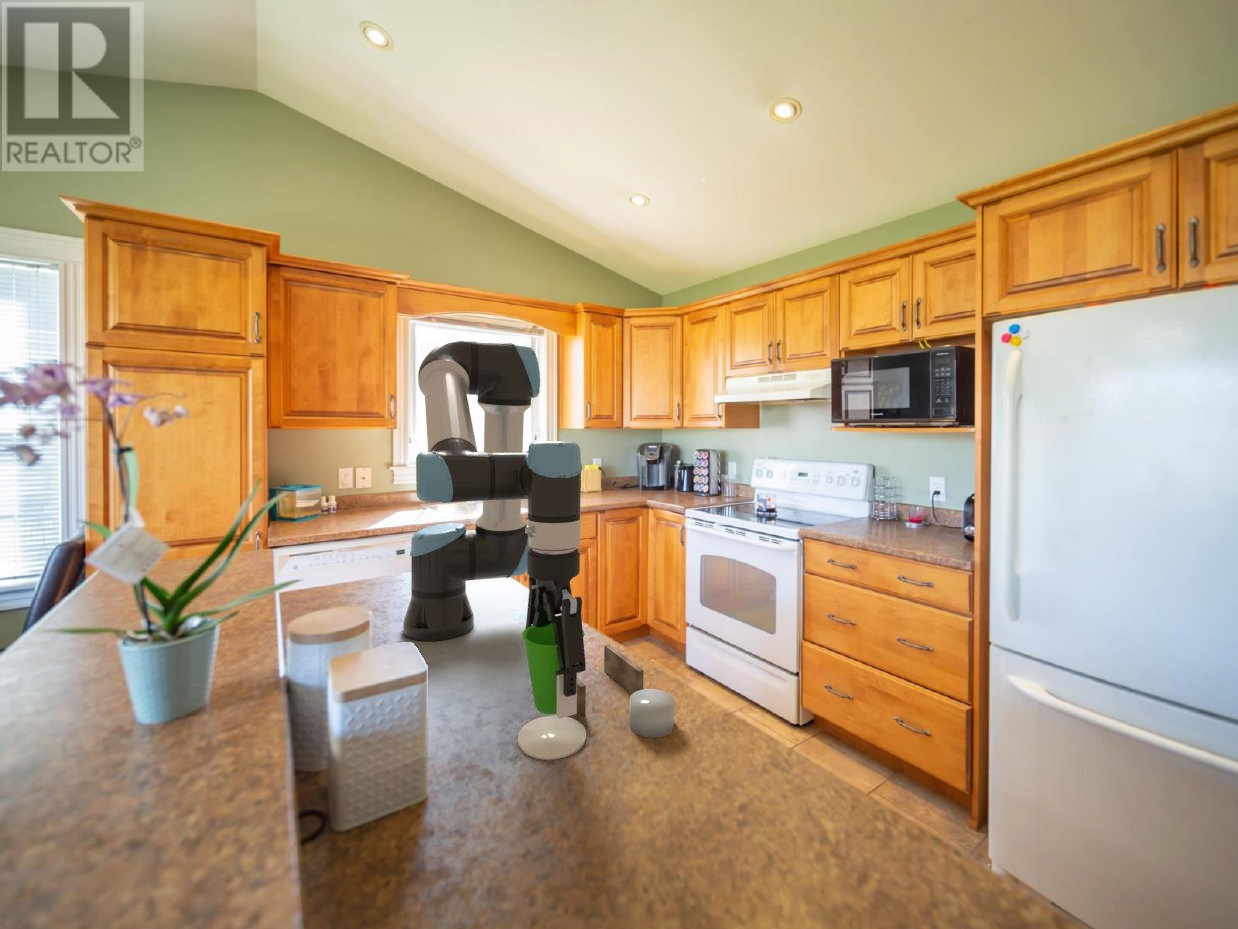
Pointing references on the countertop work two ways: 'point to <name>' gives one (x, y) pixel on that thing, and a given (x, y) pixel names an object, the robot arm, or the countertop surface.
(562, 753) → the white oval pebble
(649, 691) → the grey rounded puck
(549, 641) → the cup
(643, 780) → the countertop surface
